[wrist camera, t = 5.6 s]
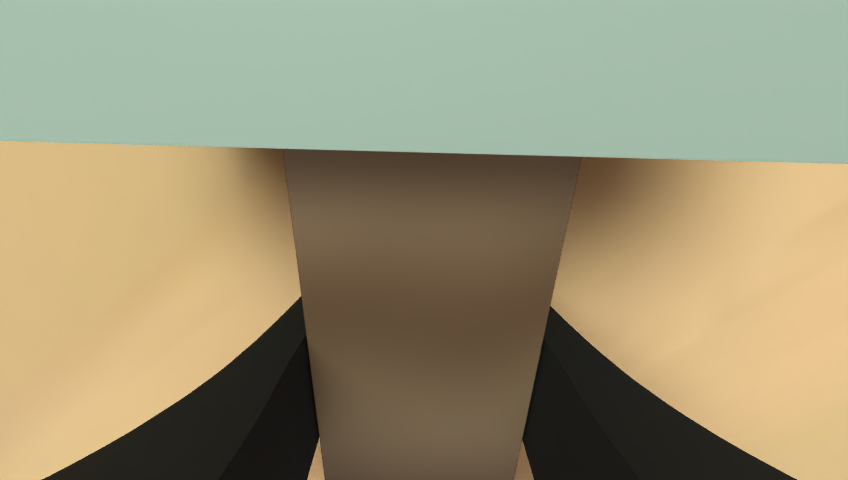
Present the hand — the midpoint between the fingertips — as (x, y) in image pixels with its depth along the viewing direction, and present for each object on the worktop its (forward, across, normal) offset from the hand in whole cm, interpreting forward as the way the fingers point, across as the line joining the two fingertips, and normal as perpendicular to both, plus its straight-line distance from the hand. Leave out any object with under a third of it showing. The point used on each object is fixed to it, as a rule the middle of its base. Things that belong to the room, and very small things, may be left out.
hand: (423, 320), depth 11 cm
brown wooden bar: (+2, 0, -2) cm, 3 cm away
